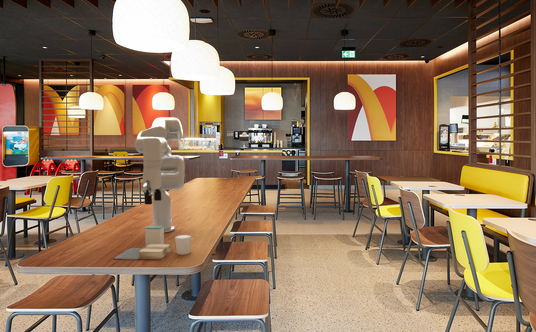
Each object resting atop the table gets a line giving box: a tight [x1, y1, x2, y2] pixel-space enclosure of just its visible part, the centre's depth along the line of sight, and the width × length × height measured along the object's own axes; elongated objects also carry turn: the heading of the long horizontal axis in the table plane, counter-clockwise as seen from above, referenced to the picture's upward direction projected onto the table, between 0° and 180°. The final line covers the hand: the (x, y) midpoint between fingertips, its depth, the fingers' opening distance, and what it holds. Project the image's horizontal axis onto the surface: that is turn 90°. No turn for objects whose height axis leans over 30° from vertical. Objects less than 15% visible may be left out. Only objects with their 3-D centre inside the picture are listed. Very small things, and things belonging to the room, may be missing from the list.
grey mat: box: [113, 247, 144, 261], centre depth 143 cm, size 14×10×1 cm
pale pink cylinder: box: [174, 234, 192, 256], centre depth 145 cm, size 7×7×7 cm
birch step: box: [138, 243, 172, 260], centre depth 142 cm, size 11×9×3 cm
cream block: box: [144, 225, 165, 247], centre depth 154 cm, size 4×7×9 cm, turn 85°
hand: (153, 202), depth 153 cm, fingers open, 9 cm apart
